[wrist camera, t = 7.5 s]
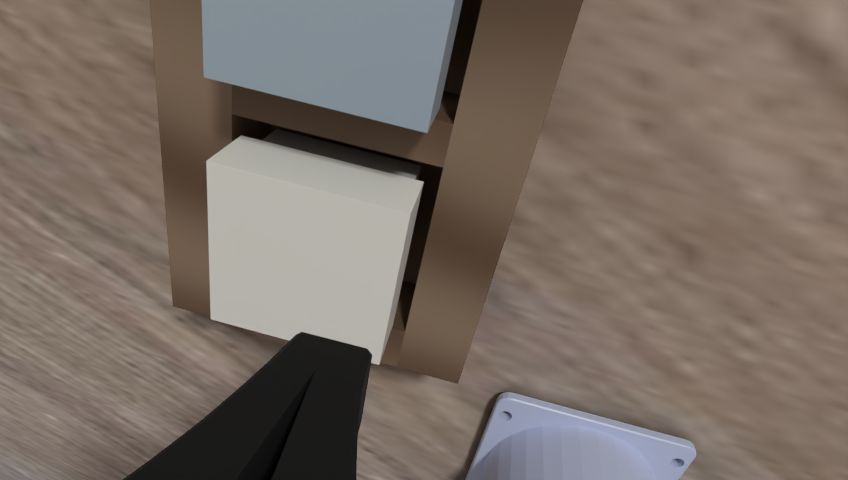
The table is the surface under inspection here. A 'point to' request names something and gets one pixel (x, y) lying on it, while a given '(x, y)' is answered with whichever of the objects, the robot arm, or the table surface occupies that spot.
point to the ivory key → (309, 238)
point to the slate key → (337, 53)
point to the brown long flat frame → (434, 151)
